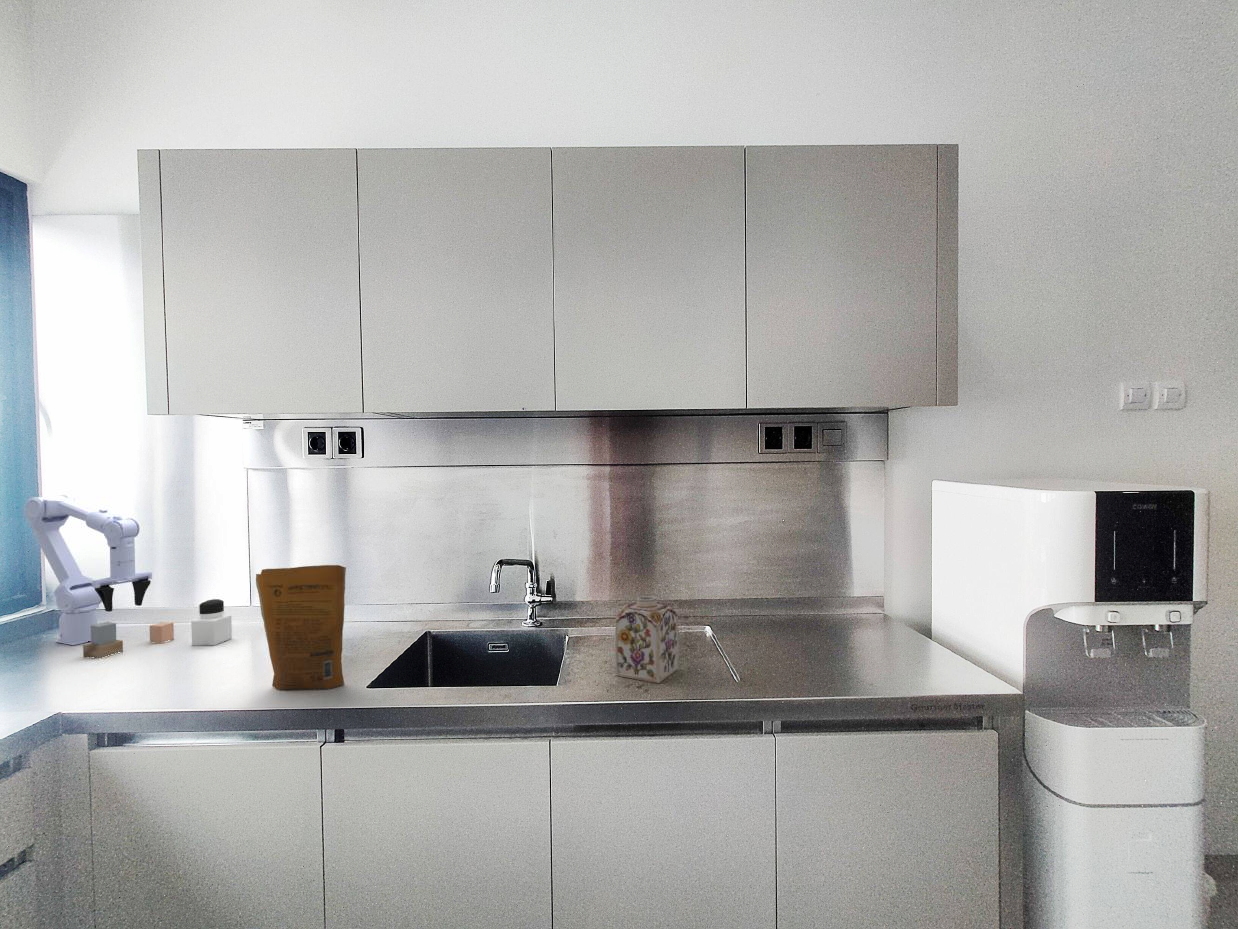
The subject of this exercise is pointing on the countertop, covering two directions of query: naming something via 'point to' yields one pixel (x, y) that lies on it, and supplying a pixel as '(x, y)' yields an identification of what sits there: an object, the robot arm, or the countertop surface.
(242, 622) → the countertop surface
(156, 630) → the terracotta block
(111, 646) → the walnut block
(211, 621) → the medicine bottle
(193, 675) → the countertop surface
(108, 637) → the slate block
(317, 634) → the pancake mix bag
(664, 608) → the decorative jar
